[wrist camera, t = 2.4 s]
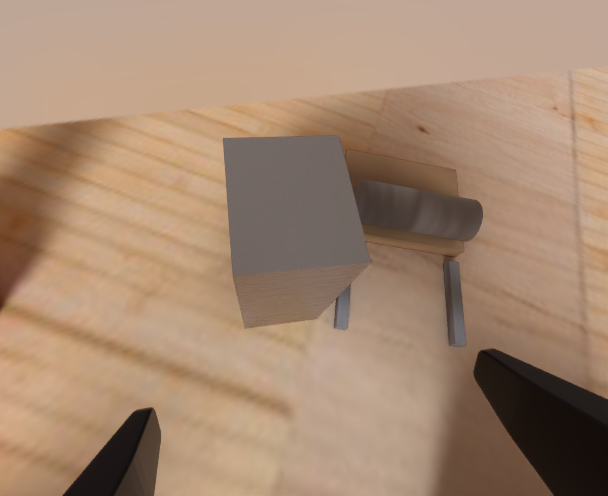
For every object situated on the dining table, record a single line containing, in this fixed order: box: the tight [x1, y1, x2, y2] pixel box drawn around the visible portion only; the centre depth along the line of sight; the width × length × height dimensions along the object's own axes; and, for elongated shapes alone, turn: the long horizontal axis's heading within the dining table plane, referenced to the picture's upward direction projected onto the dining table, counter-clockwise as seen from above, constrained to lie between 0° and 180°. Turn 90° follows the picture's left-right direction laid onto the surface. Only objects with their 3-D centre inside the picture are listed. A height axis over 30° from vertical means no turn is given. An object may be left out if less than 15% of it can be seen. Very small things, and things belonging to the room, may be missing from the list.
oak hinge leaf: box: [334, 149, 483, 347], centre depth 23 cm, size 15×10×4 cm, turn 173°
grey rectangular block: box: [223, 136, 371, 329], centre depth 17 cm, size 6×5×12 cm
